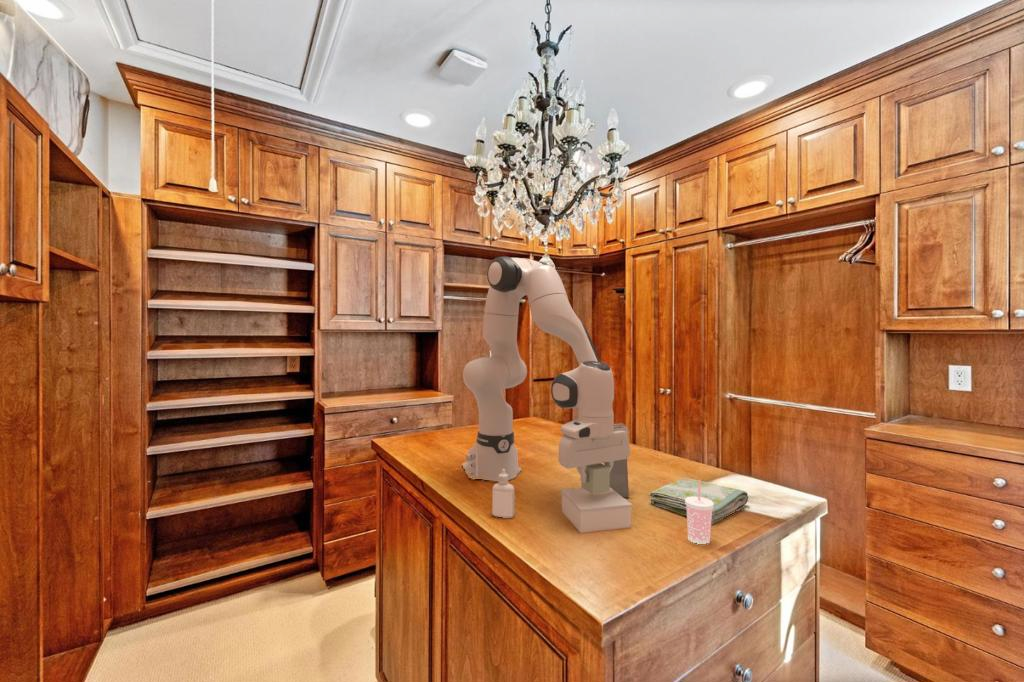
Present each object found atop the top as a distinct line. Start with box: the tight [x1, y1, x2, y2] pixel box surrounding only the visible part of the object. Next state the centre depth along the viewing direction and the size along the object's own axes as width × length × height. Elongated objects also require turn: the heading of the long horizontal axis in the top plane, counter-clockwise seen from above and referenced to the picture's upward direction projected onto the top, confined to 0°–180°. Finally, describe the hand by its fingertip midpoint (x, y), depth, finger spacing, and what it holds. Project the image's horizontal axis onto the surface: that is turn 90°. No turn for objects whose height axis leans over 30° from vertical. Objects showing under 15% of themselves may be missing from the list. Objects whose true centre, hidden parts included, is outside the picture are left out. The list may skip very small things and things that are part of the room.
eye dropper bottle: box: [491, 469, 516, 519], centre depth 115 cm, size 4×6×12 cm
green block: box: [580, 463, 610, 494], centre depth 113 cm, size 5×5×6 cm
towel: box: [648, 477, 749, 525], centre depth 123 cm, size 18×21×5 cm
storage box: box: [560, 487, 633, 534], centre depth 114 cm, size 13×13×6 cm
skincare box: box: [603, 458, 630, 499], centre depth 132 cm, size 8×7×16 cm
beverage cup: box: [685, 478, 714, 545], centre depth 102 cm, size 6×6×14 cm
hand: (595, 480), depth 113 cm, fingers closed on green block, 5 cm apart
